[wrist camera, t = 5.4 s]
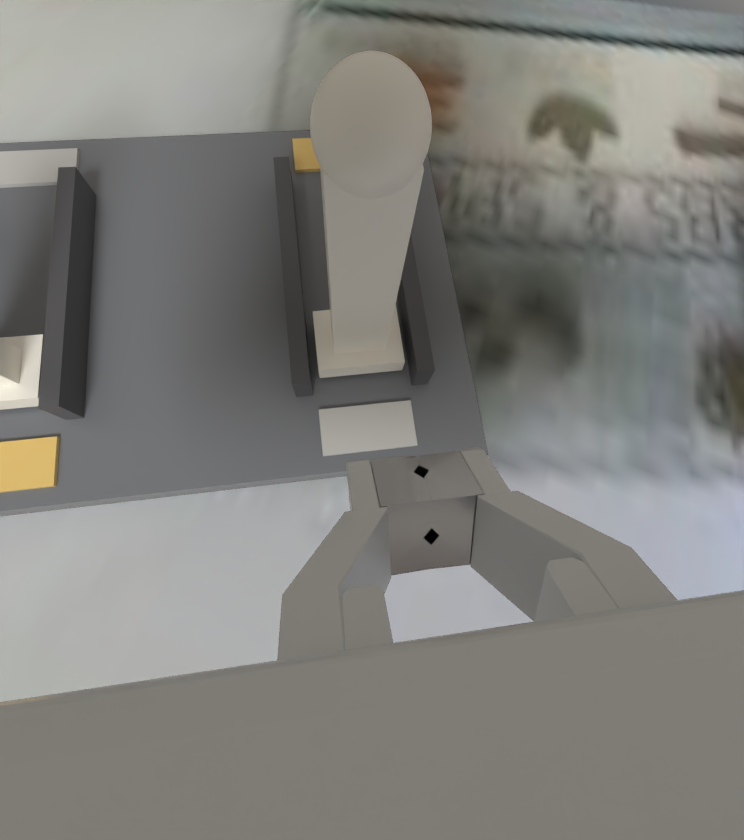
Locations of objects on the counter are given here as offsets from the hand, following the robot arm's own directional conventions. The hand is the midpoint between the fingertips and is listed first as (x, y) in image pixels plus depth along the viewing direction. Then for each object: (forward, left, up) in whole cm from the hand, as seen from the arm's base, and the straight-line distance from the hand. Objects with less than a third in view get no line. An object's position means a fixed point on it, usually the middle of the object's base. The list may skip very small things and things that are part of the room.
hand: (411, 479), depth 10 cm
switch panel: (-11, +9, -11) cm, 18 cm away
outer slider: (-3, +7, -10) cm, 12 cm away
